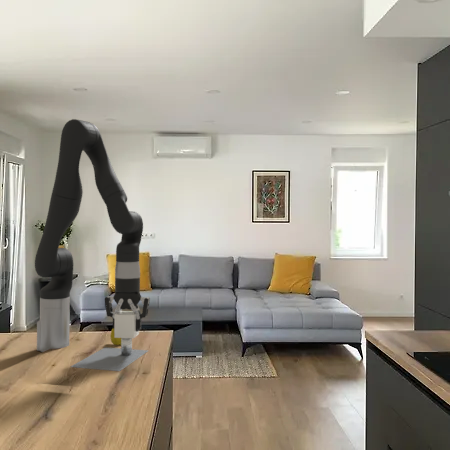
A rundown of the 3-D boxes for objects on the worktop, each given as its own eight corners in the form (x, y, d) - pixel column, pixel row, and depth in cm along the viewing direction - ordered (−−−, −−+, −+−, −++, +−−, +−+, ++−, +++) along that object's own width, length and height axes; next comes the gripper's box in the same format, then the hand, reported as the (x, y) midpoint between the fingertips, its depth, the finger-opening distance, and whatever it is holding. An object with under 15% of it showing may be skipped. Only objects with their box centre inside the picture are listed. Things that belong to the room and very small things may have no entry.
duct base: (69, 372, 141) (70, 366, 141) (105, 351, 162) (105, 347, 162) (119, 376, 137) (119, 371, 137) (148, 355, 159) (148, 350, 159)
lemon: (129, 345, 170) (129, 322, 170) (124, 350, 164) (124, 325, 164) (113, 345, 171) (113, 321, 170) (108, 349, 165) (108, 325, 165)
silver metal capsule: (119, 355, 153) (119, 335, 153) (123, 352, 156) (124, 333, 156) (129, 356, 152) (129, 336, 152) (133, 353, 155) (133, 334, 155)
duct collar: (114, 337, 151) (114, 314, 151) (120, 333, 157) (120, 310, 157) (133, 338, 151) (133, 315, 151) (139, 333, 157) (139, 311, 157)
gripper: (100, 277, 151) (100, 332, 151) (147, 278, 149) (146, 334, 150) (108, 274, 158) (108, 327, 158) (153, 275, 157) (152, 328, 157)
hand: (127, 330), depth 154 cm, fingers closed on duct collar, 6 cm apart
